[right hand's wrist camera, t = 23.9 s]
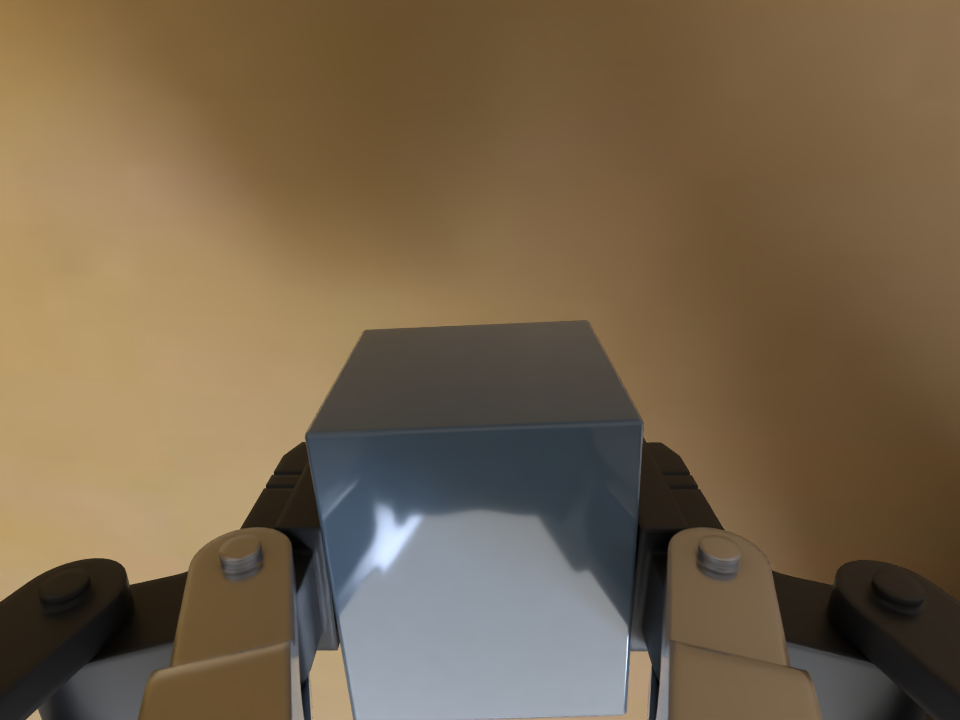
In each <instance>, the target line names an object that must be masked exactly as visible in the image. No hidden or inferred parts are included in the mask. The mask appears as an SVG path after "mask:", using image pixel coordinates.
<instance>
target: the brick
mask: <svg viewBox="0 0 960 720" xmlns="http://www.w3.org/2000/svg"><path fill="white" fill-rule="evenodd" d="M643 431H644V422H643V419H642V417H641V416H640V414H639V412H638V410H637V408H636V407H635V405H634V403H633V401H632V399H631V397H630V396H629V394H628V392H627V390H626V388H625V386H624V385H623V383H622V381H621V379H620V377H619V376H618V374H617V372H616V370H615V368H614V366H613V365H612V363H611V361H610V359H609V357H608V355H607V354H606V352H605V350H604V348H603V346H602V344H601V343H600V341H599V339H598V337H597V335H596V334H595V332H594V330H593V328H592V326H591V324H590V323H589V321H586V320H582V321H559V322H536V323H513V324H490V325H467V326H444V327H421V328H398V329H375V330H365V331H363V332H362V334H361V336H360V338H359V339H358V341H357V343H356V345H355V347H354V348H353V350H352V352H351V354H350V355H349V357H348V359H347V361H346V363H345V364H344V366H343V368H342V370H341V371H340V373H339V375H338V377H337V378H336V380H335V382H334V384H333V386H332V387H331V389H330V391H329V393H328V394H327V396H326V398H325V400H324V401H323V403H322V405H321V407H320V409H319V410H318V412H317V414H316V416H315V417H314V419H313V421H312V423H311V425H310V426H309V428H308V430H307V432H306V434H305V441H306V447H307V453H308V459H309V464H310V470H311V476H312V482H313V488H314V494H315V499H316V505H317V511H318V517H319V523H320V528H321V534H322V540H323V546H324V552H325V557H326V563H327V569H328V575H329V581H330V587H331V593H332V599H333V604H334V610H335V616H336V622H337V628H338V634H339V639H340V645H341V651H342V657H343V663H344V669H345V674H346V680H347V686H348V692H349V698H350V704H351V709H352V715H353V720H497V719H528V718H559V717H590V716H621V715H625V714H626V712H627V700H628V684H629V667H630V645H631V628H632V611H633V595H634V580H635V566H636V549H637V532H638V515H639V498H640V481H641V465H642V448H643Z"/></svg>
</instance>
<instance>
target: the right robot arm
mask: <svg viewBox="0 0 960 720" xmlns="http://www.w3.org/2000/svg"><path fill="white" fill-rule="evenodd" d="M339 643H340V639H339V634H338V628H337V622H336V616H335V610H334V604H333V599H332V593H331V587H330V581H329V575H328V569H327V563H326V557H325V552H324V546H323V540H322V534H321V528H320V523H319V517H318V511H317V505H316V499H315V494H314V488H313V482H312V476H311V470H310V464H309V459H308V453H307V447H306V442H302V443H300V444H299V445H298V446H296V447H295V448H293V449H292V450H291V451H289V452H288V453H287V454H285V455H284V456H283V457H282V459H281V461H280V462H279V464H278V466H277V468H276V469H275V471H274V475H272V476H271V478H270V479H269V481H268V483H267V484H266V489H264V490H263V491H262V493H261V495H260V496H259V498H258V500H257V501H256V503H255V505H254V507H253V508H252V510H251V512H250V513H249V515H248V517H247V518H246V520H245V522H244V523H243V525H242V527H241V529H240V530H235V531H232V532H229V533H226V534H224V535H222V536H219V537H217V538H216V539H214V540H212V541H210V542H209V543H208V544H206V545H205V546H204V547H202V548H201V549H200V550H199V551H198V552H197V553H196V555H195V556H194V557H193V559H192V561H191V563H190V566H189V570H188V571H187V572H185V573H181V574H177V575H174V576H169V577H165V578H160V579H155V580H151V581H146V582H142V583H137V584H132V585H129V581H128V577H127V573H126V571H125V568H124V567H123V566H122V565H121V564H119V563H118V562H116V561H113V560H110V559H103V558H93V559H84V560H79V561H74V562H71V563H67V564H64V565H61V566H58V567H56V568H53V569H51V570H49V571H47V572H45V573H43V574H41V575H39V576H37V577H36V578H34V579H32V580H31V581H29V582H28V583H26V584H25V585H24V586H22V587H21V588H19V589H18V590H17V591H15V592H14V593H12V594H11V595H10V596H8V597H7V598H5V599H4V600H3V601H1V602H0V720H26V719H27V718H28V717H29V716H30V715H31V714H32V713H33V712H34V711H36V710H37V709H38V710H39V713H40V716H41V719H42V720H313V710H312V693H311V682H310V675H309V672H310V670H311V667H312V664H313V660H314V657H315V654H316V651H317V650H338V647H339ZM630 651H648V654H649V657H650V660H651V663H652V668H651V675H650V682H649V693H648V710H647V720H960V602H959V601H958V600H956V599H955V598H953V597H952V596H950V595H949V594H948V593H946V592H945V591H943V590H942V589H941V588H939V587H938V586H936V585H935V584H933V583H932V582H930V581H929V580H927V579H926V578H924V577H922V576H920V575H918V574H916V573H914V572H912V571H910V570H907V569H905V568H902V567H899V566H896V565H893V564H889V563H885V562H880V561H872V560H857V561H851V562H848V563H846V564H844V565H842V566H841V567H840V568H839V569H838V570H837V573H836V576H835V580H834V584H833V585H828V584H824V583H819V582H815V581H810V580H805V579H801V578H796V577H792V576H788V575H784V574H781V573H778V572H775V571H772V570H771V566H770V563H769V561H768V559H767V557H766V556H765V555H764V553H763V552H762V551H761V550H760V549H759V548H758V547H756V546H755V545H754V544H752V543H751V542H750V541H748V540H746V539H744V538H743V537H741V536H738V535H736V534H734V533H731V532H728V531H725V530H724V529H723V527H722V525H721V524H720V522H719V520H718V519H717V517H716V515H715V514H714V512H713V510H712V509H711V507H710V505H709V504H708V502H707V500H706V499H705V497H704V495H703V494H702V492H701V490H700V489H698V485H697V484H696V482H695V480H694V479H693V477H692V476H690V472H689V470H688V469H687V467H686V465H685V464H684V462H683V460H682V459H681V457H680V456H679V455H678V454H676V453H675V452H673V451H672V450H671V449H669V448H668V447H667V446H665V445H664V444H662V443H646V441H645V439H644V437H643V448H642V465H641V481H640V498H639V515H638V532H637V549H636V566H635V580H634V595H633V611H632V628H631V645H630Z"/></svg>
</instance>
